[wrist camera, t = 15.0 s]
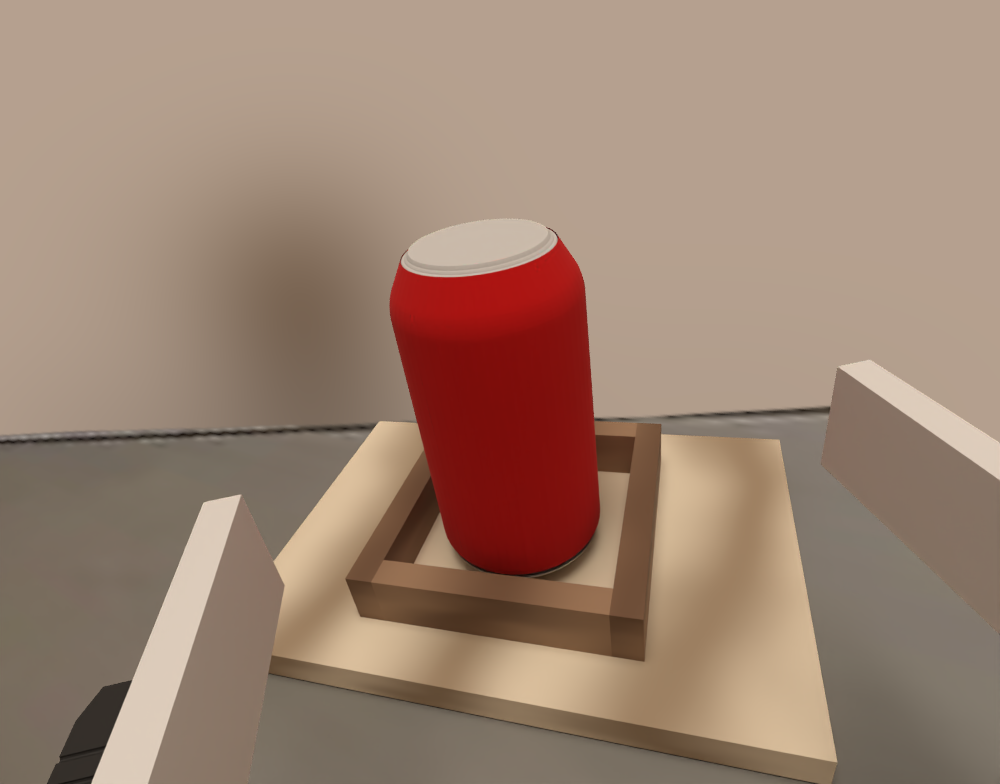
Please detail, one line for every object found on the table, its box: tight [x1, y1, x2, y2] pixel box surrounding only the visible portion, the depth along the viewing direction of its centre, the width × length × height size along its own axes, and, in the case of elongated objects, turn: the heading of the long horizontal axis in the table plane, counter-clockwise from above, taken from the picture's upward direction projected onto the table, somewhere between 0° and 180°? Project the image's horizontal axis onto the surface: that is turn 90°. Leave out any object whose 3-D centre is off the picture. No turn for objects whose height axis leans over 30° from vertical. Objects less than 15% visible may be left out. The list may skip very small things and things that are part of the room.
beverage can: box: [390, 219, 600, 578], centre depth 21 cm, size 6×6×12 cm
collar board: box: [268, 421, 837, 784], centre depth 24 cm, size 20×14×3 cm
